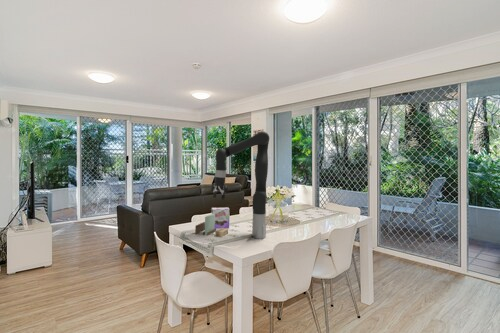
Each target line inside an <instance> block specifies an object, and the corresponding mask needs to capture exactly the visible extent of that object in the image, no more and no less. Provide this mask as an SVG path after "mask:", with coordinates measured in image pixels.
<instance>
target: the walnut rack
mask: <svg viewBox="0 0 500 333" xmlns="http://www.w3.org/2000/svg"><path fill="white" fill-rule="evenodd" d="M194 227H195V232H194V233H195V235H198V234H199V233H202V235H203V236H211V235H212V234H214V233H215V231H217V229H214V230H212V231H210V232H208V233H207V235H205V221H203V222H200V223H198V224H196V225H195V226H194Z"/></svg>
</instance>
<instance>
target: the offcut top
mask: <svg viewBox="0 0 500 333" xmlns="http://www.w3.org/2000/svg"><path fill="white" fill-rule="evenodd" d="M227 231H228V232H229V228H218V229H216V231H215V232H214V233H215V234H220V235H222V234H224V233H226V232H227Z"/></svg>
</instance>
